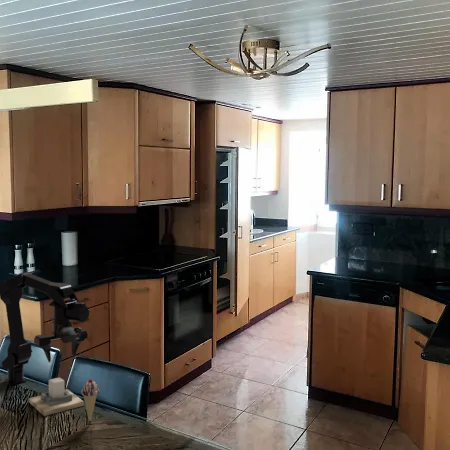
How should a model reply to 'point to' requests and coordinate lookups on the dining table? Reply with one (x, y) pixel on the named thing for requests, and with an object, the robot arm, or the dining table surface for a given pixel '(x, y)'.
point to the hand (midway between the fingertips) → (61, 359)
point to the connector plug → (56, 388)
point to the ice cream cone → (90, 396)
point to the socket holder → (55, 402)
